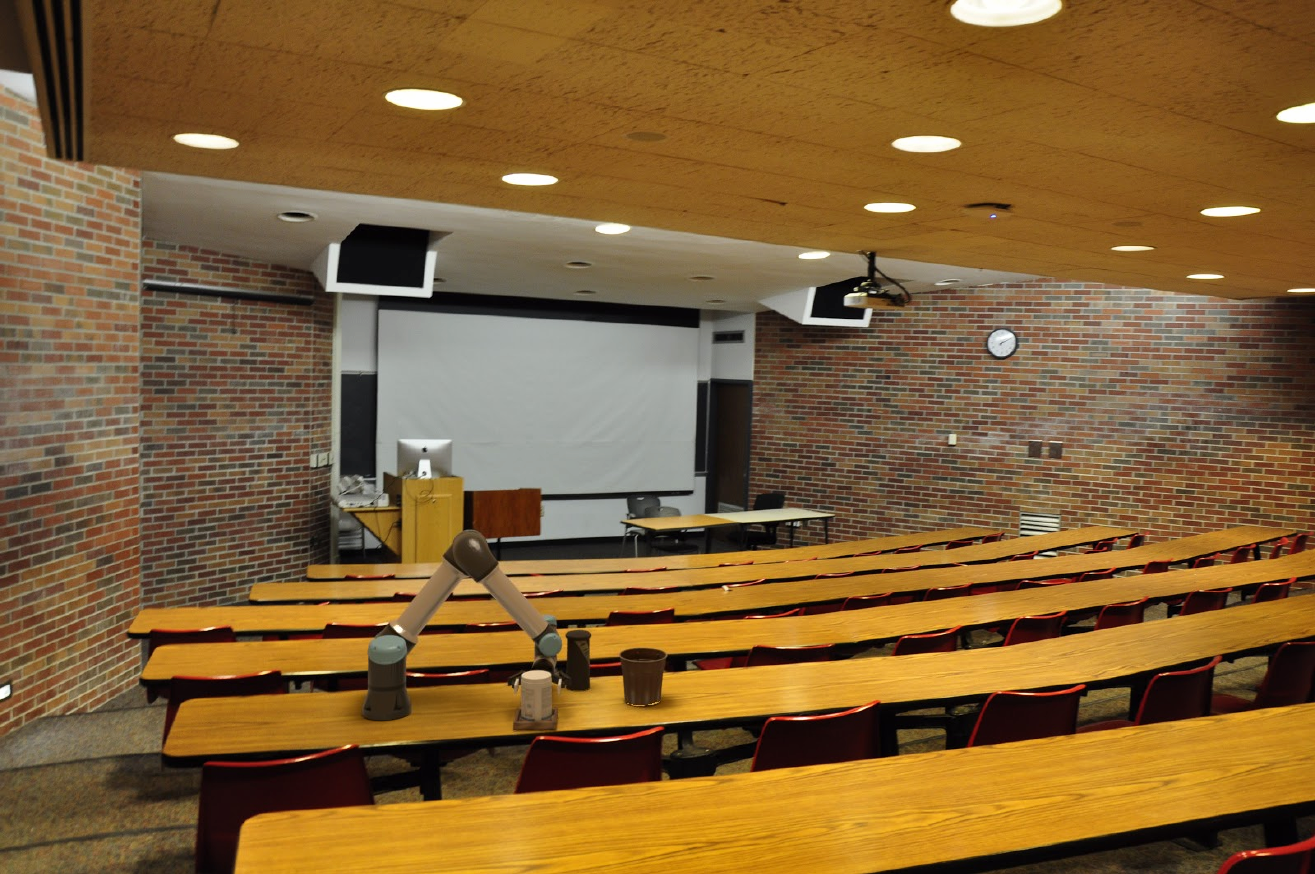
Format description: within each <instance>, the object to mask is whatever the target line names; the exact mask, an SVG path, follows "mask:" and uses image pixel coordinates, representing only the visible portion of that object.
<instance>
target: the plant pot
mask: <svg viewBox="0 0 1315 874" xmlns="http://www.w3.org/2000/svg"><path fill="white" fill-rule="evenodd" d="M618 656H619V658H620V667H621V670H622V671H621V672H622V683H623V685H622V686H623V697H624V698H623V699H624V702H625V703H626V702H627V703H629V704H633V705H647V706H648V704H652V703H655V702H659V701H660V700H661V699H662V689H663V679H664V669H665V667H666V662H667V661H666V660H667V657H668V653H667V652H666V651H664V650H662V649H659V648H654V647H653V648H652V647H631V648H627V649H623V650H622V651H620V652H619V653H618ZM660 702H661V701H660ZM627 703H626V704H627ZM629 704H628V705H629Z"/></svg>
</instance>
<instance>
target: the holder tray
mask: <svg viewBox="0 0 1315 874" xmlns="http://www.w3.org/2000/svg"><path fill="white" fill-rule="evenodd" d="M557 719H559V708H558V707H552V719H551V721H521V707H517V708H516V712H515V715H514V718H513V722H512V731H513V730H556V731H557V727H558V720H557ZM556 726H557V727H556Z"/></svg>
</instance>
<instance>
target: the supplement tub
mask: <svg viewBox="0 0 1315 874" xmlns="http://www.w3.org/2000/svg"><path fill="white" fill-rule="evenodd" d="M552 689H553V683H552V678H551V673H549V672H547V671H541V670H535V671H531V670H529V671H525V673H523V674H522V676H521V685H520V708H521V721H551V719H552V708H553V690H552Z"/></svg>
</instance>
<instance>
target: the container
mask: <svg viewBox="0 0 1315 874" xmlns="http://www.w3.org/2000/svg"><path fill="white" fill-rule="evenodd" d="M591 637H592V632H590V631H588V630H584V629H573V630H569V631H567V632H566V633H565V639H566V672H565V674H566V675H567V676H569V677H570V678H571V686H567V685H565V688H566V689H567V690H569V689H570V690H569V691H573V690H583V691H587V690H589V689H590V688H591V666H590V665H591V660H590V659H591V656H590V654H591V652H590V651H591V649H590V647H591V645H590V643H591V642H590V639H591ZM588 688H589V689H588ZM586 689H587V690H586Z"/></svg>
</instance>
